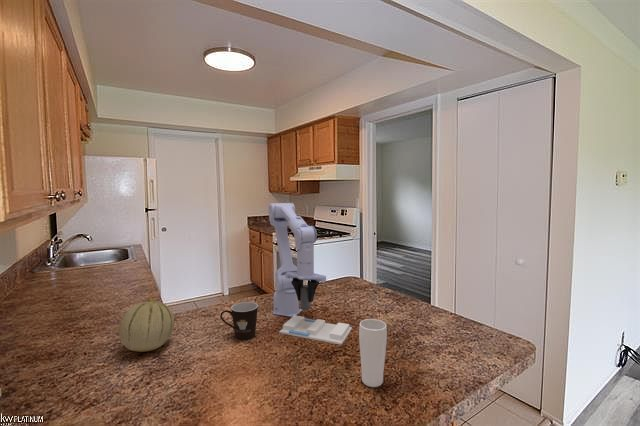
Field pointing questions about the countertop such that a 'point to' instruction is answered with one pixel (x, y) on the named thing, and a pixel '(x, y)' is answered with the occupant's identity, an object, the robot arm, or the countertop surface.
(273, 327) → the countertop surface
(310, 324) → the white slotted board
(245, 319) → the coffee mug
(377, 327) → the drinking glass
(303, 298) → the dark grey rounded piece
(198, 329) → the countertop surface
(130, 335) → the cantaloupe
